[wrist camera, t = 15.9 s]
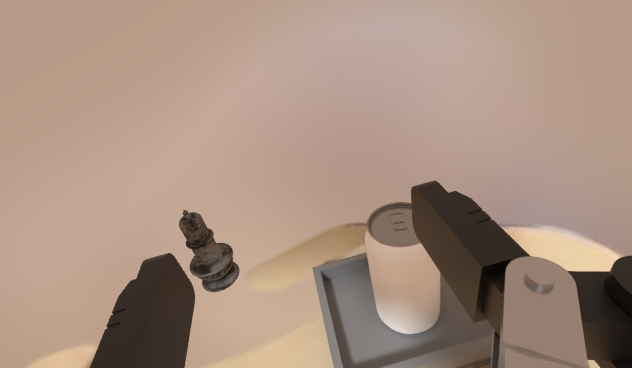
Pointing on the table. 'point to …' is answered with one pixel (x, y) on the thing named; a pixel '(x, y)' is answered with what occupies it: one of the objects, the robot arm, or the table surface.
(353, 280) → the tray
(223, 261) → the salt shaker
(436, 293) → the can
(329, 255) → the table surface
